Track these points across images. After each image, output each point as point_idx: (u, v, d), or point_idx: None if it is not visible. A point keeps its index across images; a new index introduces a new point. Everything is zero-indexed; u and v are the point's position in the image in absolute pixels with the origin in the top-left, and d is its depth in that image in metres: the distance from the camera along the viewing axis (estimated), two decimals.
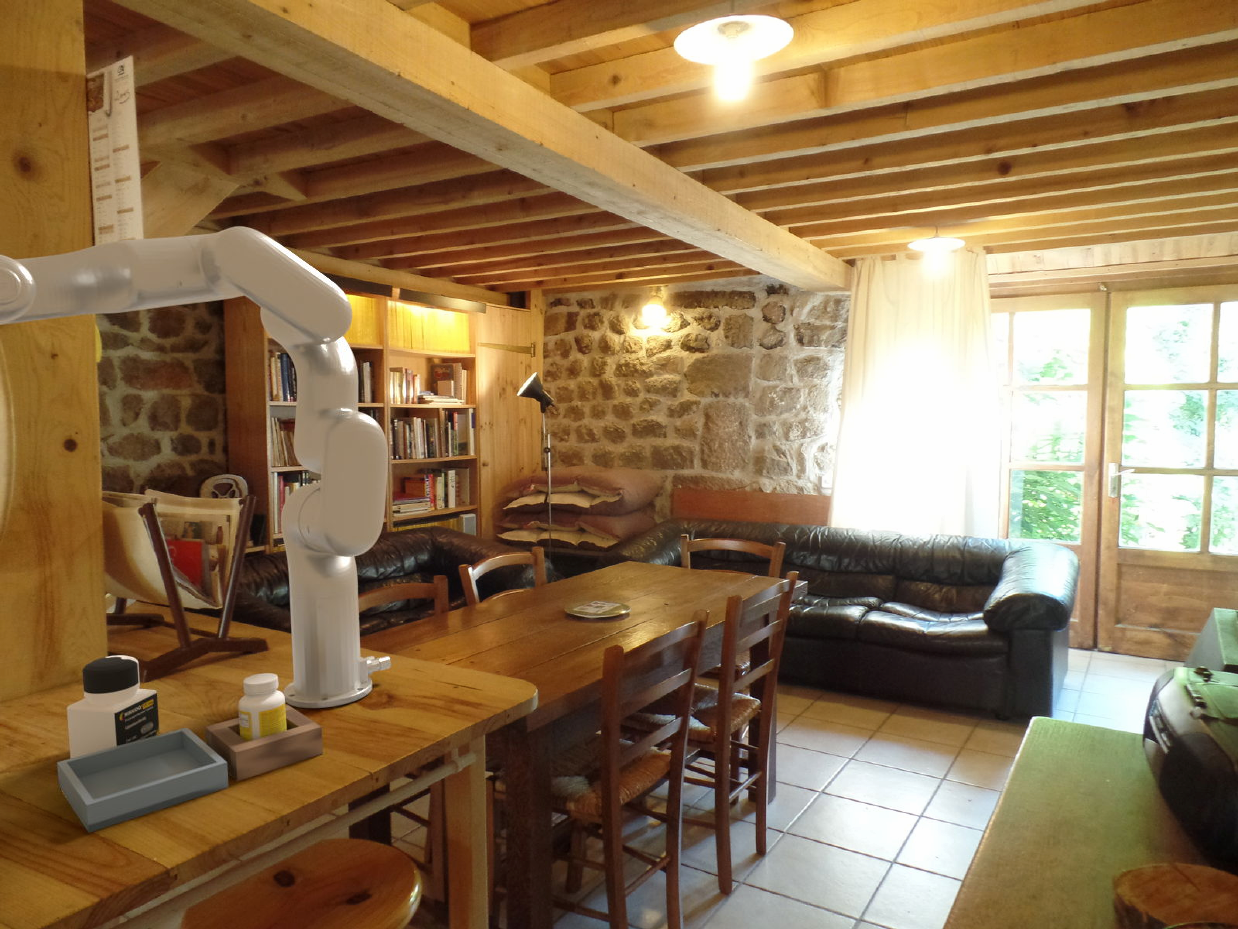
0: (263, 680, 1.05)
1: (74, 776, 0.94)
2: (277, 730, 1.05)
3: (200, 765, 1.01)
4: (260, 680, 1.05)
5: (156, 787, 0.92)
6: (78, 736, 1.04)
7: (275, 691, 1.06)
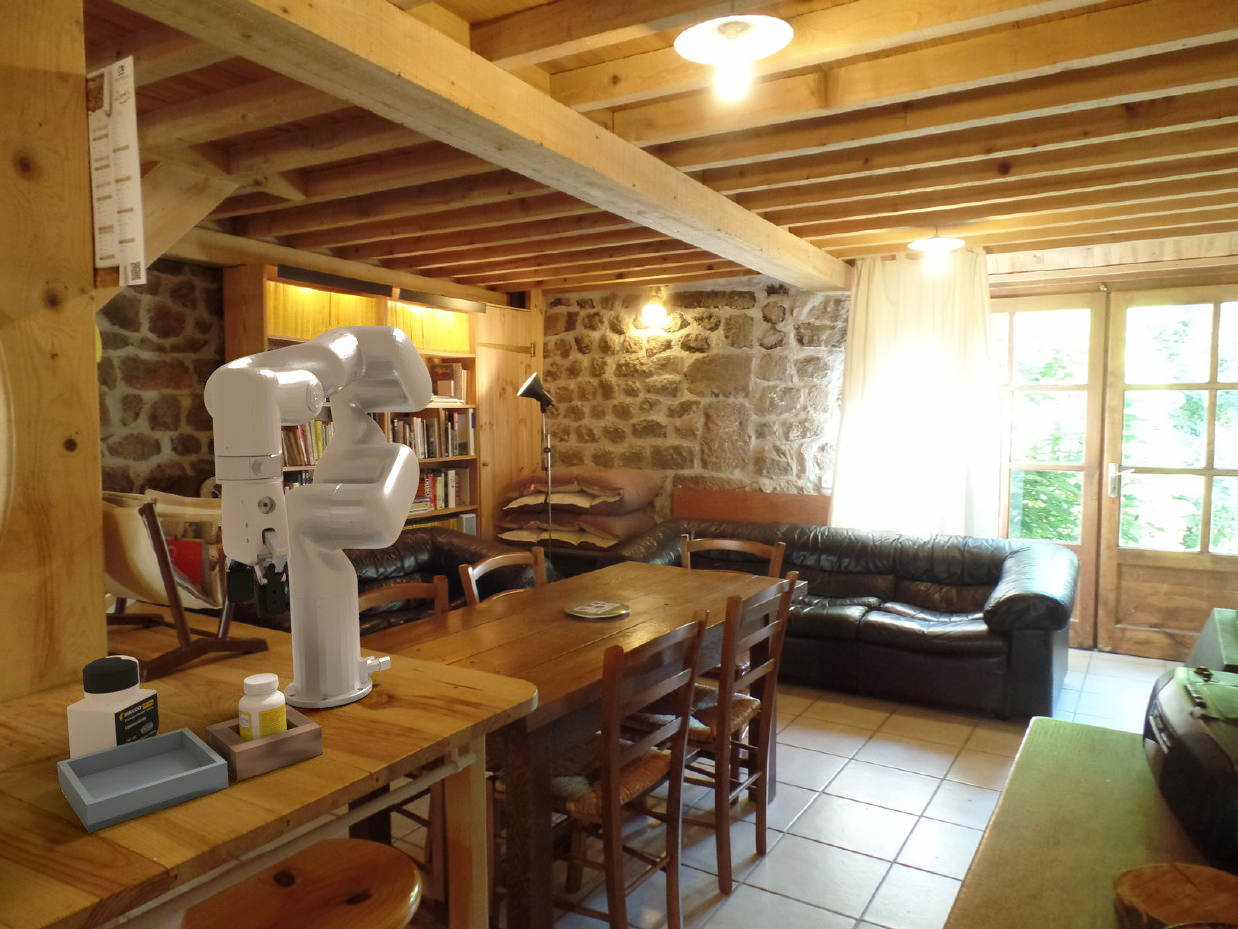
0: (264, 680, 1.05)
1: (74, 776, 0.94)
2: (277, 730, 1.05)
3: (200, 765, 1.01)
4: (260, 680, 1.05)
5: (156, 787, 0.92)
6: (78, 736, 1.04)
7: (275, 691, 1.06)
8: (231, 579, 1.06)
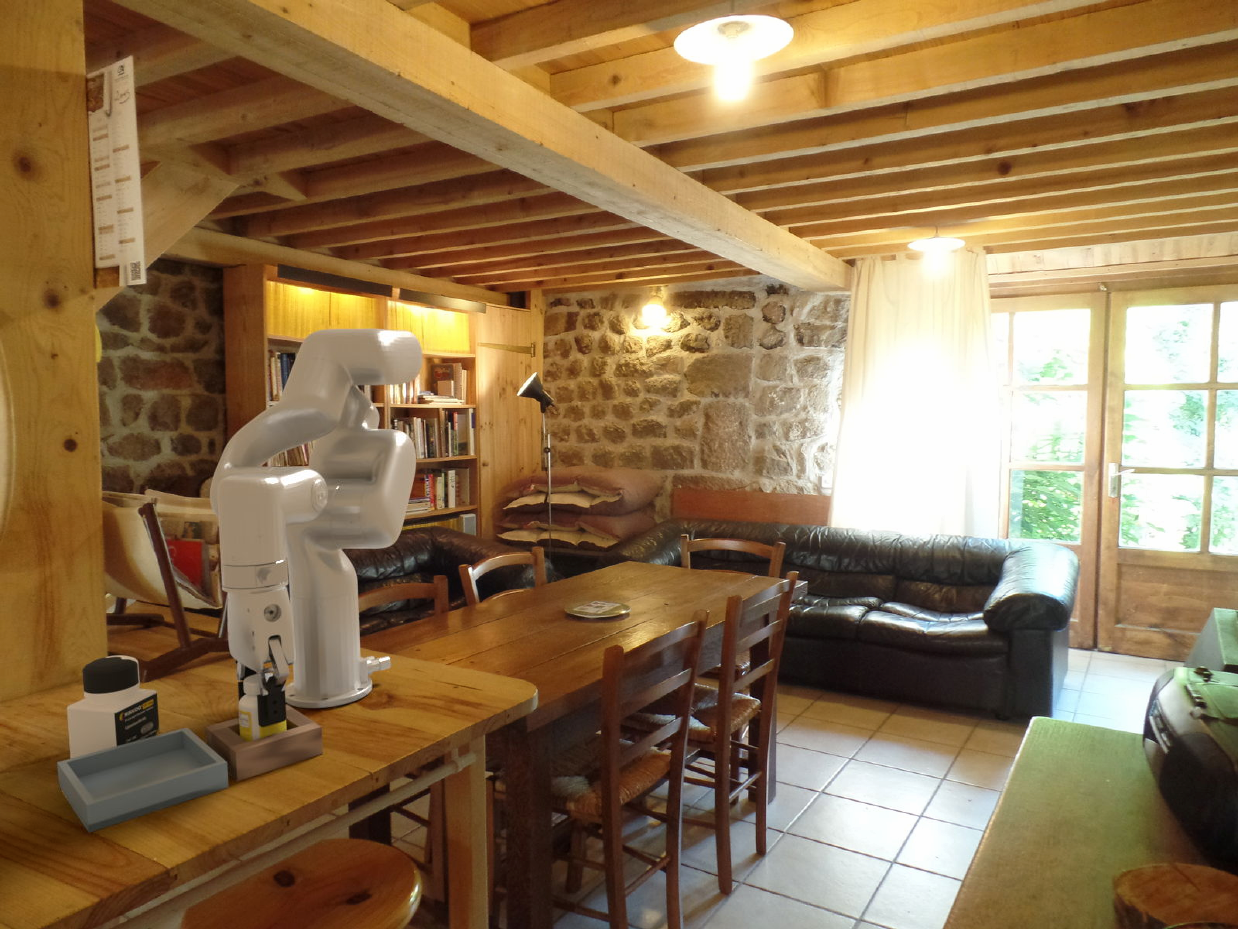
0: None
1: (74, 776, 0.94)
2: (277, 730, 1.05)
3: (200, 765, 1.01)
4: None
5: (156, 787, 0.92)
6: (78, 736, 1.04)
7: None
8: (243, 690, 1.07)
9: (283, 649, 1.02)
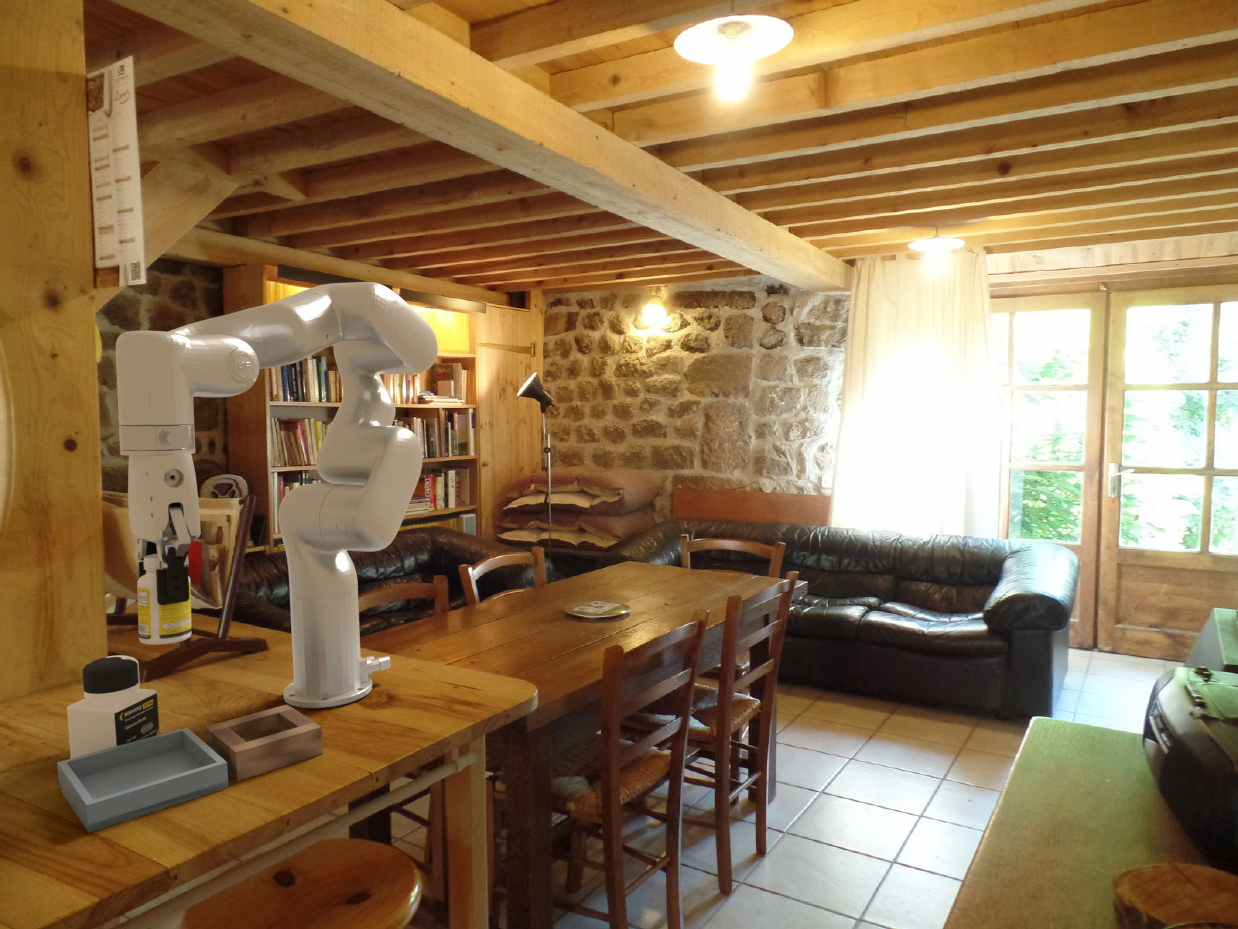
0: None
1: (74, 776, 0.94)
2: (179, 611, 0.96)
3: (200, 765, 1.01)
4: None
5: (156, 787, 0.92)
6: (78, 736, 1.04)
7: None
8: (144, 570, 0.98)
9: (185, 519, 0.94)
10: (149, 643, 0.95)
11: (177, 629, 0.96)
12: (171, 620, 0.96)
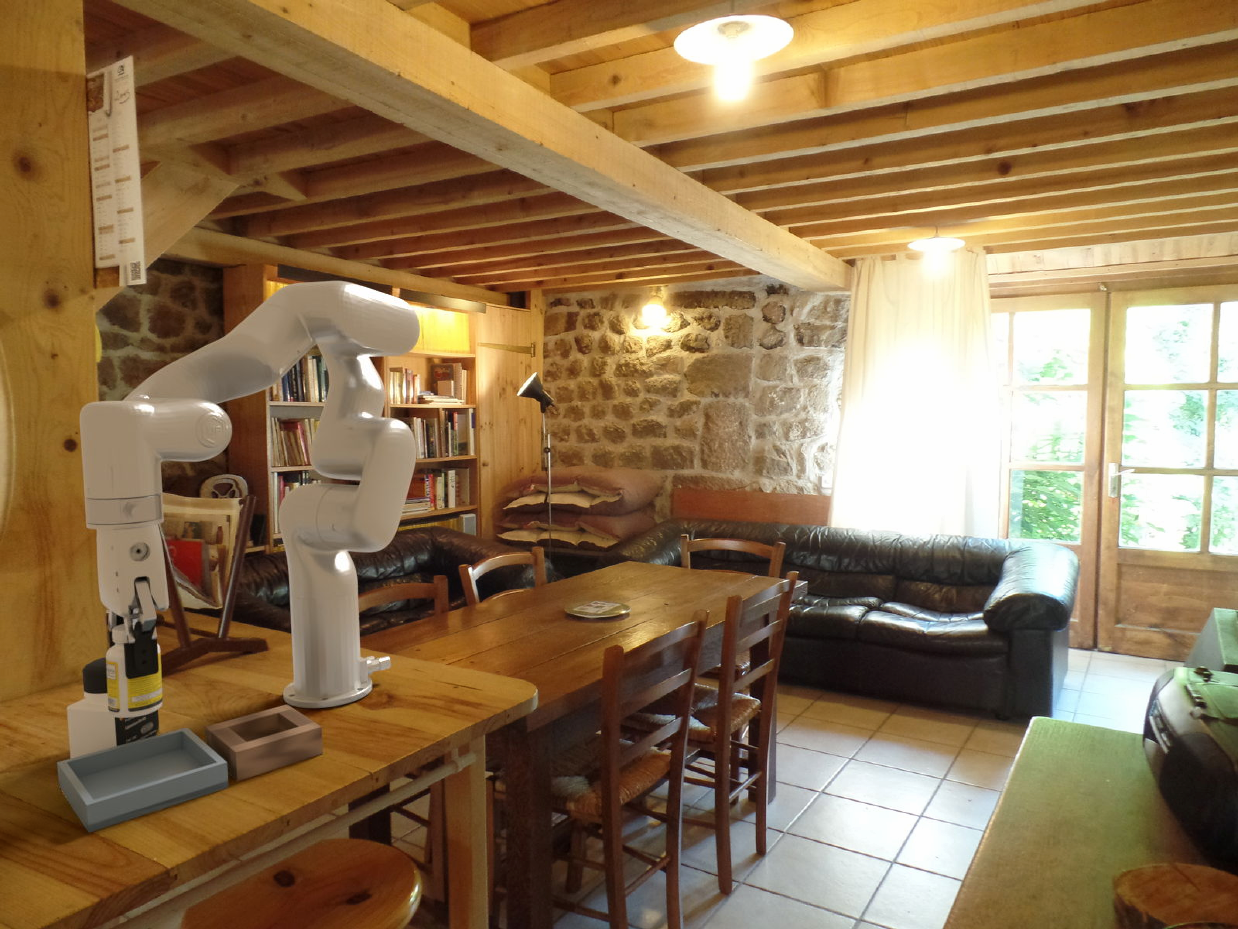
0: None
1: (74, 776, 0.94)
2: (148, 683, 0.95)
3: (200, 765, 1.01)
4: None
5: (156, 787, 0.92)
6: (78, 736, 1.04)
7: None
8: None
9: (152, 592, 0.92)
10: (118, 716, 0.94)
11: (146, 701, 0.95)
12: (140, 693, 0.94)
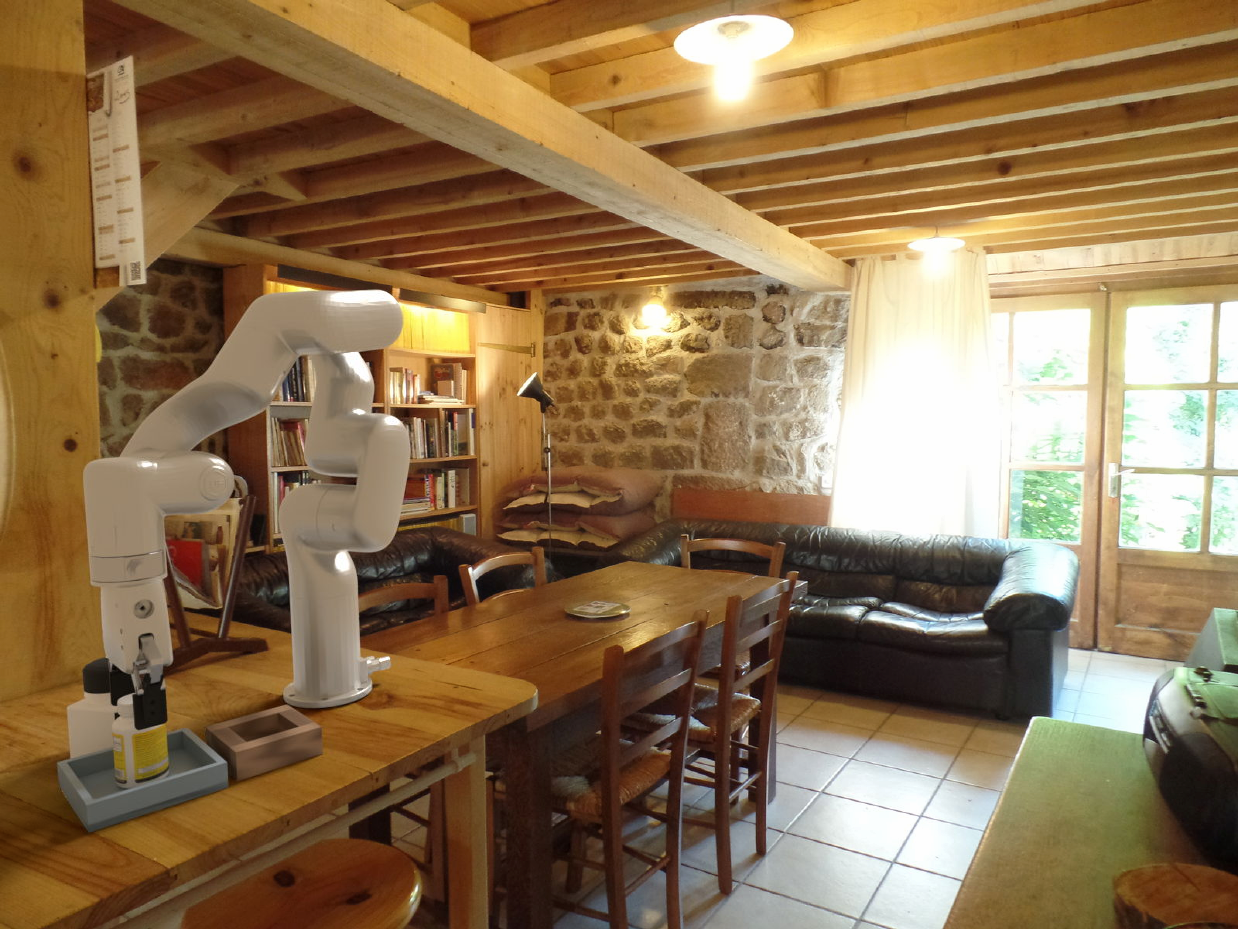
0: None
1: (74, 776, 0.94)
2: (154, 754, 0.96)
3: (200, 765, 1.01)
4: None
5: (156, 787, 0.92)
6: (78, 736, 1.04)
7: None
8: (114, 681, 0.99)
9: None
10: (125, 788, 0.95)
11: (153, 771, 0.96)
12: (146, 764, 0.96)
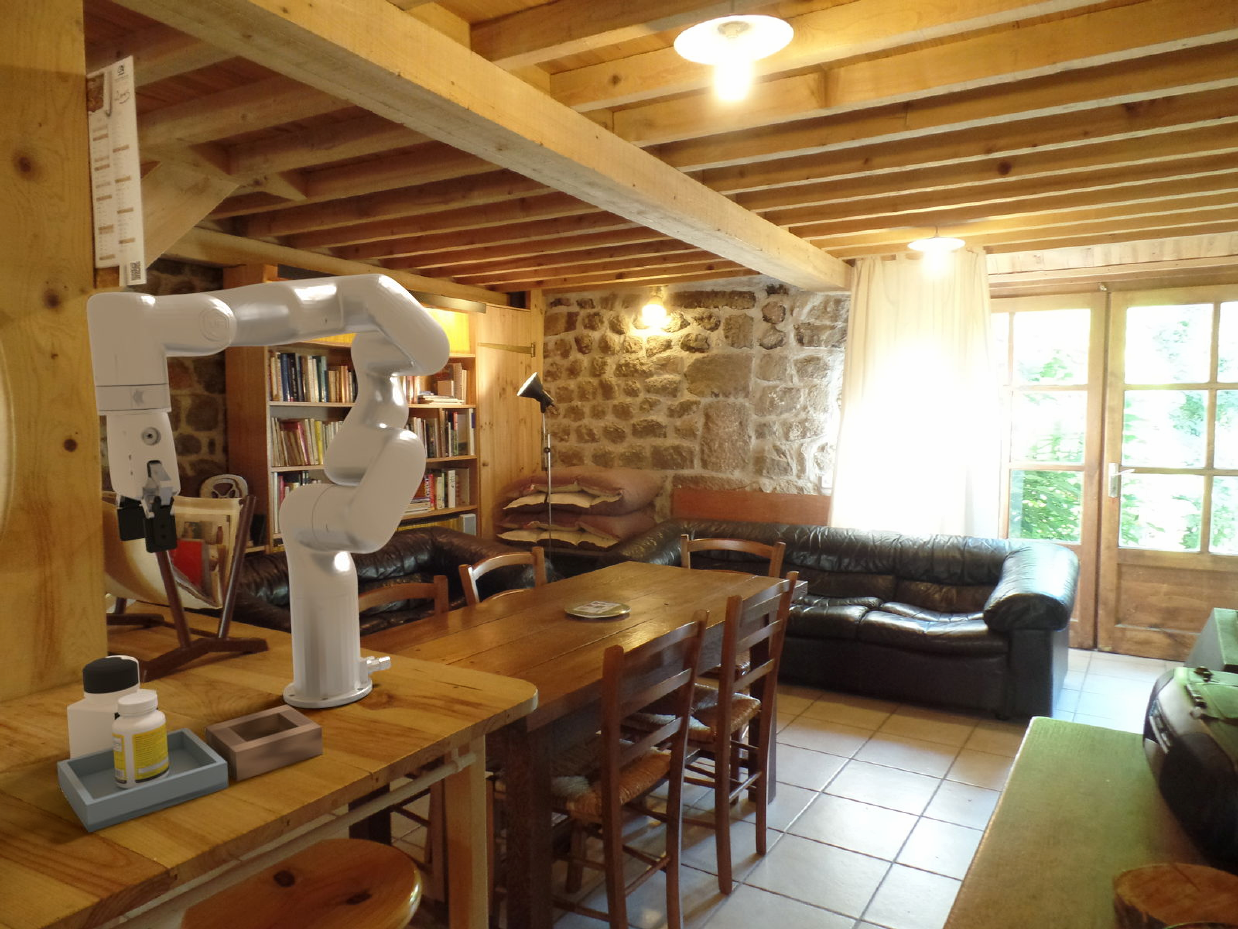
0: (139, 700, 0.96)
1: (74, 776, 0.94)
2: (154, 754, 0.96)
3: (200, 765, 1.01)
4: (136, 700, 0.96)
5: (156, 787, 0.92)
6: (78, 736, 1.04)
7: (153, 712, 0.97)
8: (122, 516, 1.02)
9: None
10: (125, 788, 0.95)
11: (153, 772, 0.96)
12: (146, 764, 0.96)
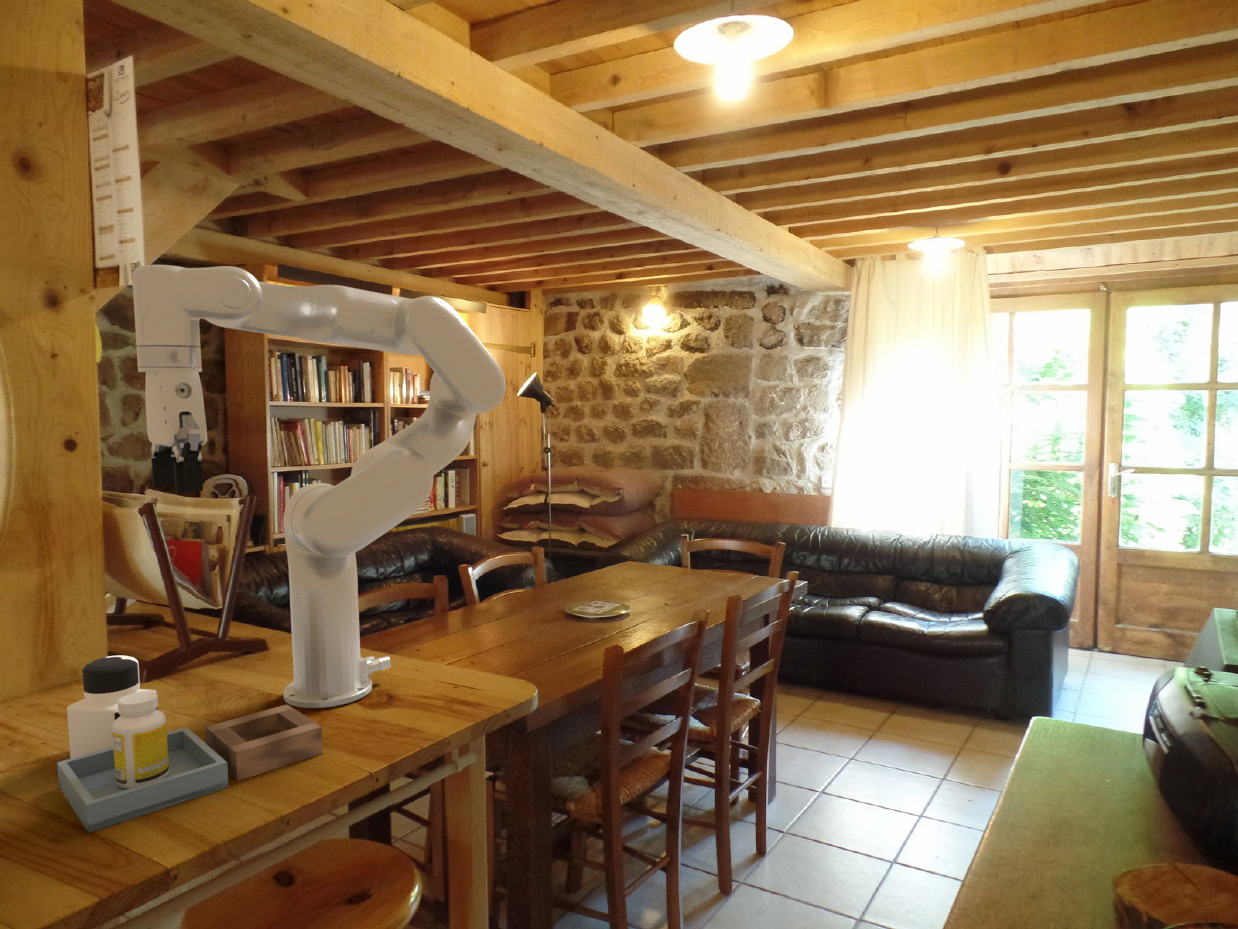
0: (140, 700, 0.96)
1: (74, 776, 0.94)
2: (154, 754, 0.96)
3: (200, 765, 1.01)
4: (136, 700, 0.96)
5: (156, 787, 0.92)
6: (78, 736, 1.04)
7: (154, 711, 0.97)
8: (156, 464, 1.16)
9: None
10: (125, 787, 0.95)
11: (153, 772, 0.96)
12: (146, 764, 0.96)
